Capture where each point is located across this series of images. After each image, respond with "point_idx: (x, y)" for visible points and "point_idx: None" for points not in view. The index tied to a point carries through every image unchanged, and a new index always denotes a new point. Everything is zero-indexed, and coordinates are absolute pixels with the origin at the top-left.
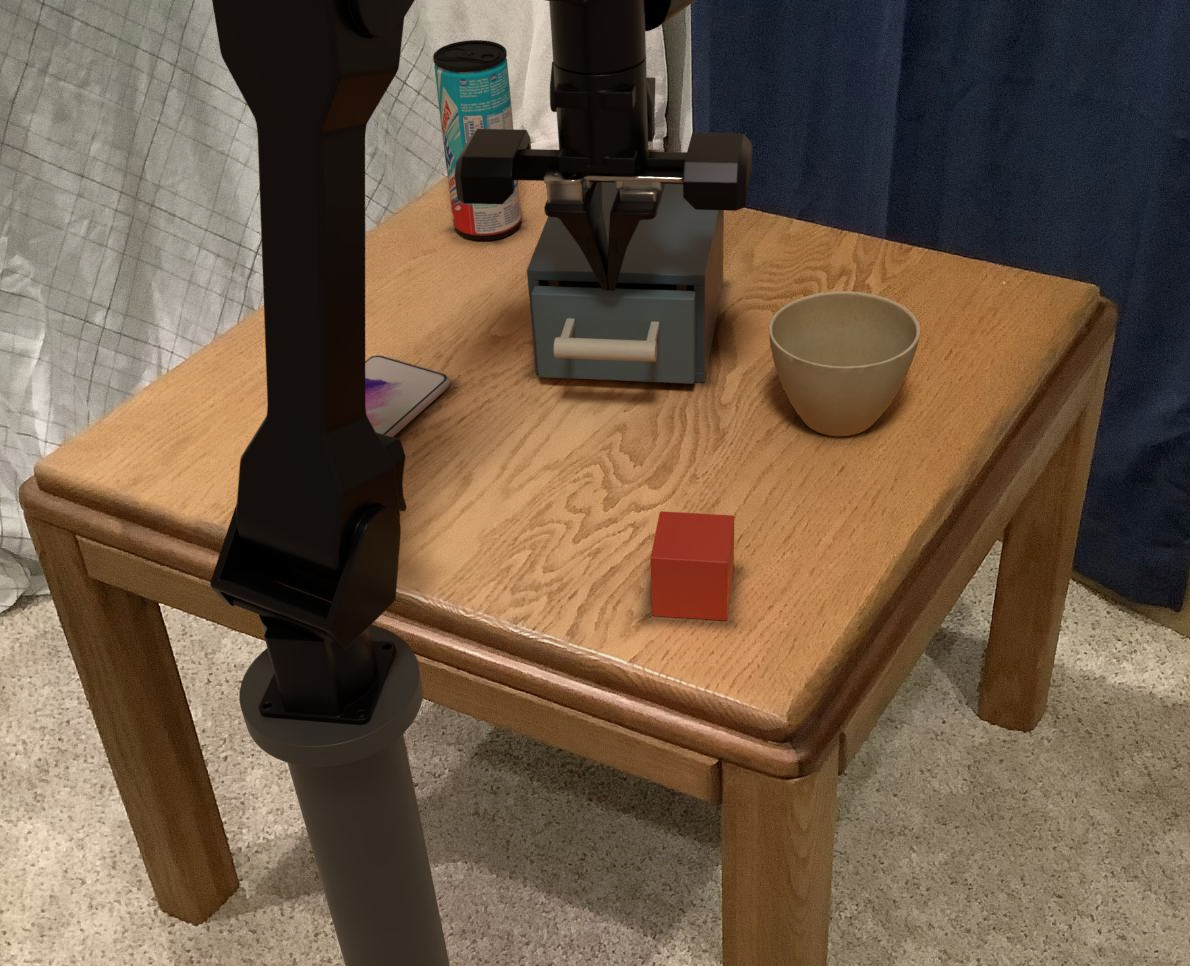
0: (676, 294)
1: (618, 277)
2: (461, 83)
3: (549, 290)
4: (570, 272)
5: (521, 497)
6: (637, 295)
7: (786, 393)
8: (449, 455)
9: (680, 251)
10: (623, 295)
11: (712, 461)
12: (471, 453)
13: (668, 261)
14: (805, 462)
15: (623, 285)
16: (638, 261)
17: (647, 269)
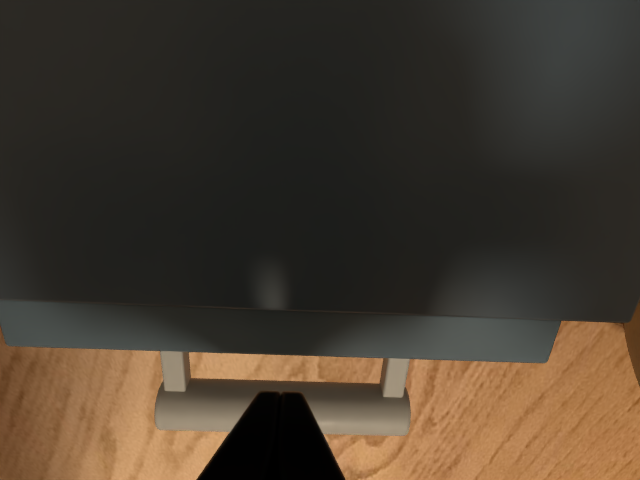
0: (497, 341)
1: (308, 404)
2: None
3: (60, 328)
4: (102, 302)
5: (196, 466)
6: (368, 347)
7: (632, 360)
8: (56, 396)
9: (576, 128)
10: (322, 348)
11: (458, 392)
12: (89, 391)
13: (507, 222)
14: (592, 388)
15: None
16: (376, 225)
17: (414, 286)
